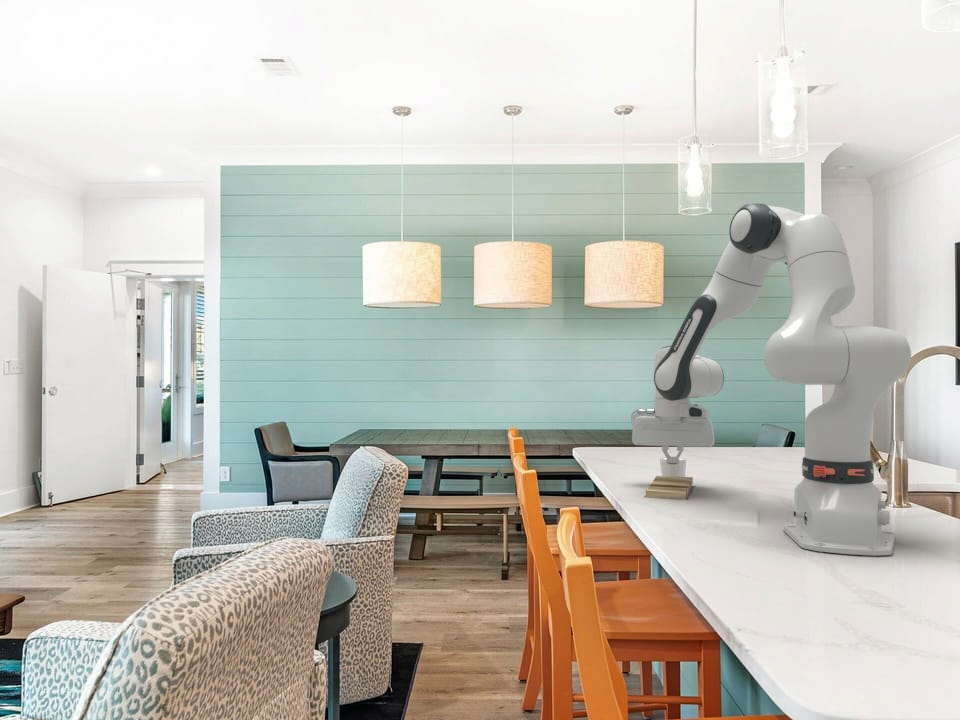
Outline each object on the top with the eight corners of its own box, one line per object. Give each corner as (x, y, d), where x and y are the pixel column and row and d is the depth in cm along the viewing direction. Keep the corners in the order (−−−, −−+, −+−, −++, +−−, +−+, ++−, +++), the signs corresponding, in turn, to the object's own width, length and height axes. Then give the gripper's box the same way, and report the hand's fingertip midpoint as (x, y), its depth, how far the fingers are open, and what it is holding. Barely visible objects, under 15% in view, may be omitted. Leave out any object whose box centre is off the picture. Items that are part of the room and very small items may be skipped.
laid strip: (685, 499, 167) (685, 491, 167) (645, 497, 170) (645, 489, 170) (688, 494, 173) (688, 487, 173) (650, 492, 177) (649, 485, 177)
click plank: (688, 493, 174) (688, 486, 174) (650, 491, 177) (650, 484, 177) (692, 483, 185) (692, 476, 185) (656, 481, 188) (656, 474, 188)
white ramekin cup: (658, 482, 197) (658, 456, 197) (684, 483, 196) (684, 457, 196) (661, 486, 190) (661, 460, 190) (688, 487, 189) (688, 460, 189)
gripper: (629, 409, 185) (629, 463, 185) (713, 410, 178) (713, 467, 178) (633, 408, 191) (633, 460, 191) (714, 409, 184) (715, 463, 183)
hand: (672, 464), depth 184 cm, fingers closed
